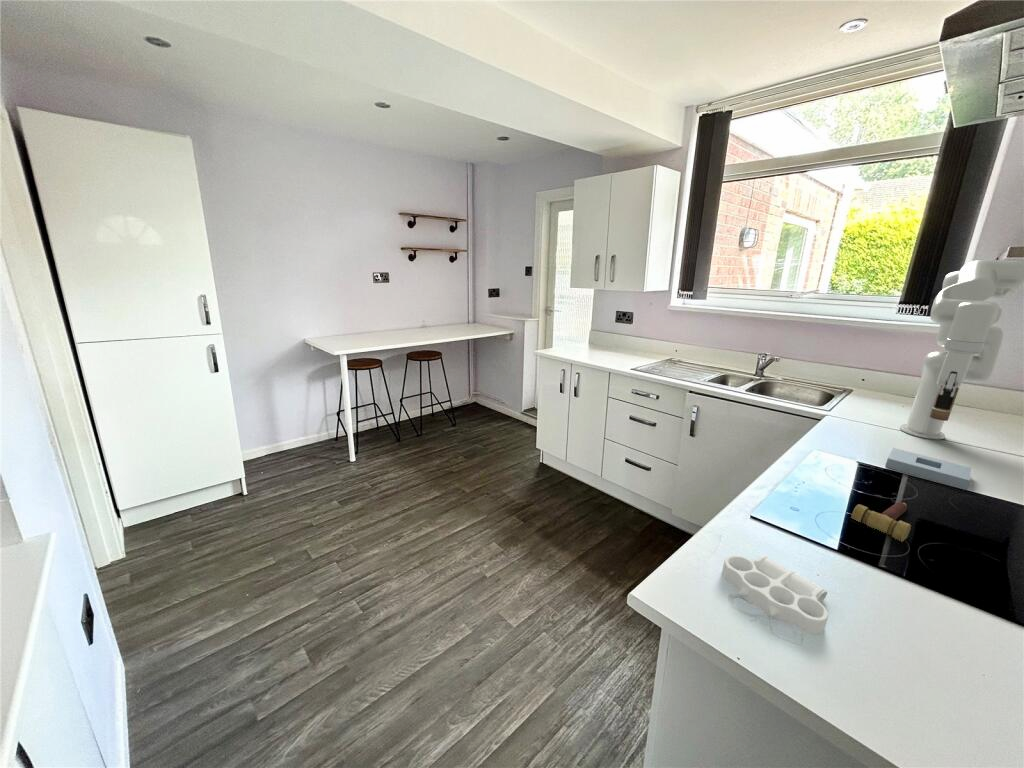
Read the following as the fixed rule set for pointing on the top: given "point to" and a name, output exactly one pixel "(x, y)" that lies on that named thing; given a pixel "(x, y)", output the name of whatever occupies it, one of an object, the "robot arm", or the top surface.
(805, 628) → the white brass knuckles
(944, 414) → the peg
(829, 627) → the top surface
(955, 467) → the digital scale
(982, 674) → the top surface
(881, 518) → the gavel
